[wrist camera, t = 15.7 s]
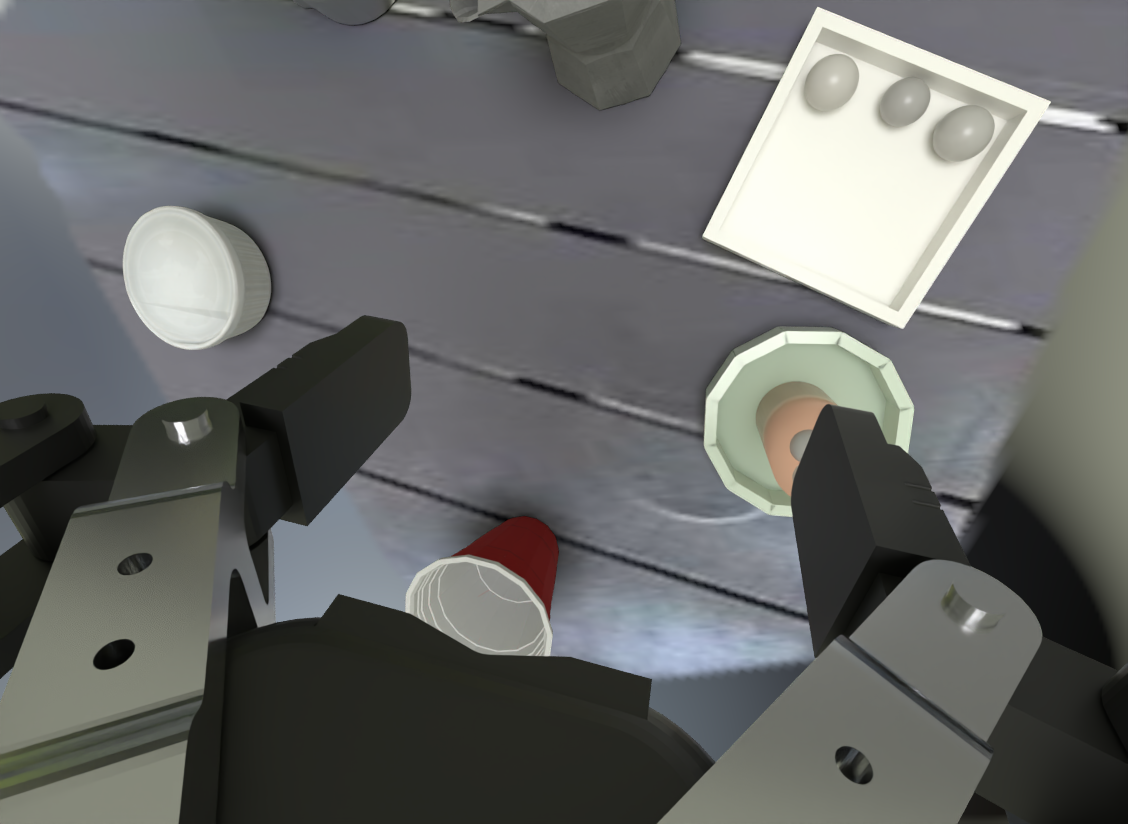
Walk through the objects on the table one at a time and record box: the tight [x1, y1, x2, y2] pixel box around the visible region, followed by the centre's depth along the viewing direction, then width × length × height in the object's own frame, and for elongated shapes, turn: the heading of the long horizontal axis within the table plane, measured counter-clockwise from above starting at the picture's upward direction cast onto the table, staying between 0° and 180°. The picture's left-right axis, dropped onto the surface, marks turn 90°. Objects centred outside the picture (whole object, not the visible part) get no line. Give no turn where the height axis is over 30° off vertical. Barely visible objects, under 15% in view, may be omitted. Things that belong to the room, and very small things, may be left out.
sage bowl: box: [704, 326, 914, 517], centre depth 40 cm, size 13×13×4 cm
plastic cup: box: [406, 516, 559, 656], centre depth 44 cm, size 11×11×12 cm
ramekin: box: [123, 206, 271, 350], centre depth 47 cm, size 11×11×5 cm
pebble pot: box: [756, 381, 838, 497], centre depth 36 cm, size 5×5×11 cm
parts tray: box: [702, 7, 1051, 329], centre depth 35 cm, size 14×14×4 cm
